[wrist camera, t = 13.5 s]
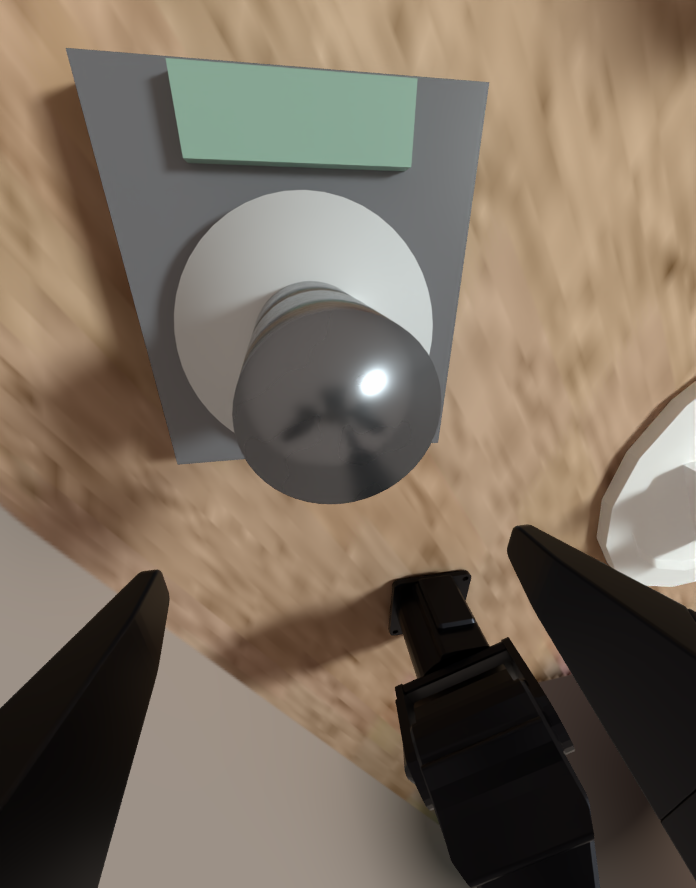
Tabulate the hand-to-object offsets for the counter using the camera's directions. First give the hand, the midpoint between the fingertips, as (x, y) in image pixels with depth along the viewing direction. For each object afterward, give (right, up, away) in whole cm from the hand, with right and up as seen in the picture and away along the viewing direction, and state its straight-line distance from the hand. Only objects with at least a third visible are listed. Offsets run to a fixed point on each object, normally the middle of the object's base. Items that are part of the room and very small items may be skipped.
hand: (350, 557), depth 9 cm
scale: (-2, +10, +8) cm, 13 cm away
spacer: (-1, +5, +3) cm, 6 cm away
